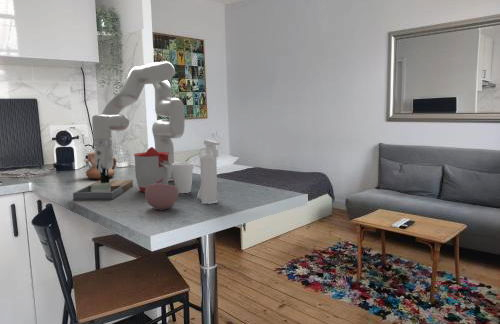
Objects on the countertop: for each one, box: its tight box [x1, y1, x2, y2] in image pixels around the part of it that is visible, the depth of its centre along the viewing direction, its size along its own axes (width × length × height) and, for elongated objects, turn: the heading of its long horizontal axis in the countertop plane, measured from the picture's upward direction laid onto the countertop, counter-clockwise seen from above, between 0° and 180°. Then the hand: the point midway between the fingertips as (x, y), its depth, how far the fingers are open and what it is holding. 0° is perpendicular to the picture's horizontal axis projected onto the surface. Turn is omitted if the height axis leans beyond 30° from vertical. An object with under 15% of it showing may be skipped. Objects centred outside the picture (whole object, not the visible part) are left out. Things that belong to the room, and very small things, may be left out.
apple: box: [144, 178, 179, 210], centre depth 139 cm, size 12×12×11 cm
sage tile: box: [90, 182, 111, 190], centre depth 164 cm, size 6×6×2 cm
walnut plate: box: [86, 179, 134, 194], centre depth 175 cm, size 16×14×3 cm
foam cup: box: [172, 161, 194, 194], centre depth 167 cm, size 10×9×13 cm
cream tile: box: [91, 187, 111, 192], centre depth 164 cm, size 6×6×2 cm
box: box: [72, 186, 124, 201], centre depth 161 cm, size 16×14×3 cm
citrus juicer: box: [133, 146, 170, 193], centre depth 171 cm, size 16×17×20 cm
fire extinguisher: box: [196, 139, 221, 202], centre depth 148 cm, size 7×12×25 cm, turn 46°
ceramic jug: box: [83, 151, 117, 180], centre depth 204 cm, size 18×14×14 cm
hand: (105, 183), depth 168 cm, fingers closed
